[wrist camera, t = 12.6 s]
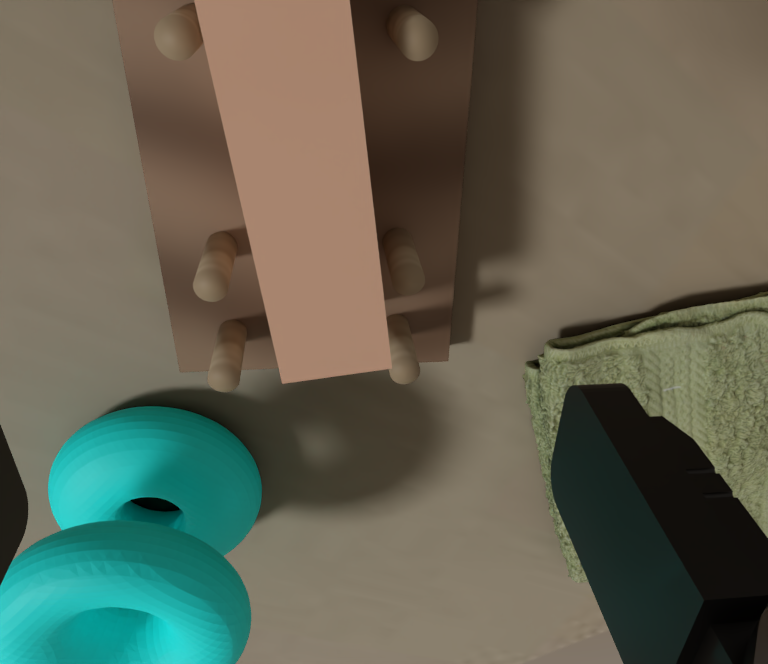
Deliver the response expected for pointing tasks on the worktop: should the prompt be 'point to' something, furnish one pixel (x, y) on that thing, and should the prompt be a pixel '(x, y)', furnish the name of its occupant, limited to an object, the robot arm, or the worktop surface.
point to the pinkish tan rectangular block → (302, 178)
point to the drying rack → (386, 166)
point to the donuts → (137, 548)
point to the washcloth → (671, 390)
